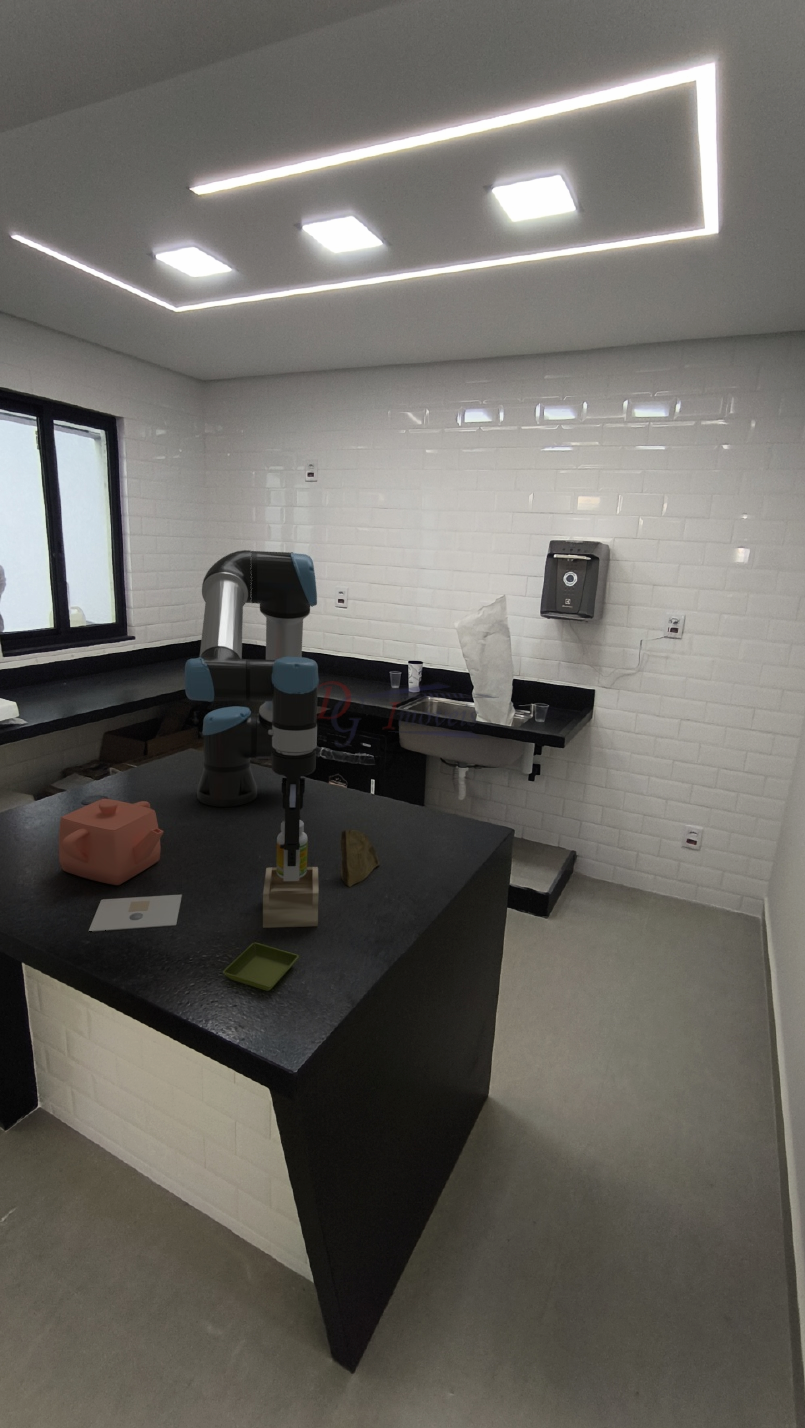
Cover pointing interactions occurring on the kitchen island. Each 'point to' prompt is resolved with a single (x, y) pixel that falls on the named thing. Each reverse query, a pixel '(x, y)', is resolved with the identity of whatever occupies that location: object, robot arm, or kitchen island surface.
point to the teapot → (109, 840)
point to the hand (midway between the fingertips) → (291, 871)
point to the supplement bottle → (303, 851)
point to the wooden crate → (290, 900)
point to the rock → (356, 857)
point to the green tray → (260, 966)
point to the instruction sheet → (136, 913)
